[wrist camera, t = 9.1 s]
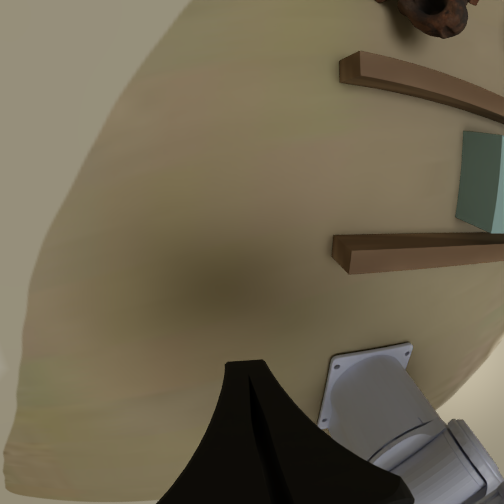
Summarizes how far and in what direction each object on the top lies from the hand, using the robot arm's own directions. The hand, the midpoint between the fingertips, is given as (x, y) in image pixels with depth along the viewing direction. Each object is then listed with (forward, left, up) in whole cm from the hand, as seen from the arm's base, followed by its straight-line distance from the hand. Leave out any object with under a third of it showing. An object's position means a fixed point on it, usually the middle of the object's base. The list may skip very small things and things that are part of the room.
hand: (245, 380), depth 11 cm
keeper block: (+7, -22, -11) cm, 26 cm away
